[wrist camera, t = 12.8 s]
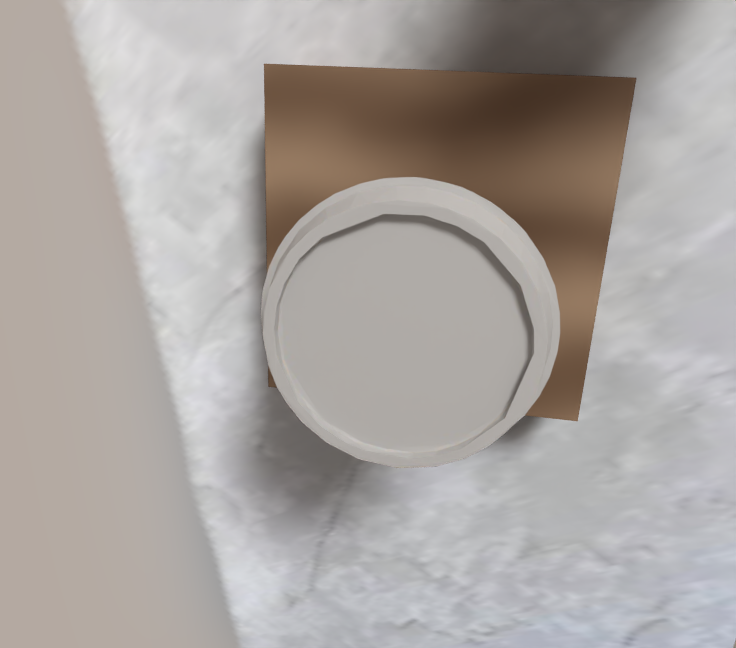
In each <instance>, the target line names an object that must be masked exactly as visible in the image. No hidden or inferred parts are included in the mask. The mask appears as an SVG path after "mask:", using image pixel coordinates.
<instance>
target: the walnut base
mask: <svg viewBox="0 0 736 648" xmlns="http://www.w3.org/2000/svg"><path fill="white" fill-rule="evenodd" d="M635 83H636V78H628V77H602V76H575V75H549V74H522V73H495V72H469V71H442V70H416V69H389V68H363V67H336V66H309V65H283V64H264V95H265V168H266V241H267V272H268V269H269V266H270V264H271V262H272V259H273V257H274V255H275V253H276V251H277V249H278V247H279V246H280V244H281V243H282V241H283V239H284V238H285V236H286V235H287V234H288V233H289V231H290V230H291V229H292V228H293V227H294V225H295V224H296V223H297V222H298V221H299V220H300V219H301V218H302V217H303V216H304V215H306V214H307V213H308V212H309V211H310V210H311V209H313V208H314V207H315V206H316V205H318V204H319V203H321V202H322V201H324V200H326V199H327V198H329V197H330V196H332V195H334V194H335V193H338V192H340V191H343V190H345V189H348V188H350V187H353V186H355V185H358V184H361V183H365V182H369V181H374V180H378V179H383V178H399V177H419V178H427V179H432V180H437V181H441V182H446V183H450V184H453V185H457V186H460V187H463V188H465V189H467V190H469V191H471V192H473V193H475V194H477V195H479V196H481V197H483V198H485V199H486V200H488V201H490V202H492V203H493V204H494V205H496V206H497V207H499V208H500V209H501V210H503V211H504V212H505V213H506V214H507V215H509V216H510V217H511V218H512V219H513V220H514V221H516V222H517V223H518V224H519V225H520V226H521V227H522V229H523V230H524V231H525V232H526V233H527V235H528V236H529V238H530V239H531V240H532V242H533V243H534V245H535V246H536V248H537V249H538V251H539V252H540V254H541V255H542V257H543V258H544V261H545V263H546V265H547V268H548V270H549V273H550V275H551V277H552V280H553V282H554V285H555V288H556V294H557V299H558V305H559V311H560V338H559V345H558V352H557V355H556V358H555V362H554V365H553V368H552V371H551V375H550V377H549V379H548V381H547V383H546V385H545V387H544V388H543V390H542V392H541V394H540V396H539V397H538V399H537V400H536V401H535V403H534V404H533V405H532V406H531V408H530V409H529V410H528V412H527V413H526V414H525V415H526V416H535V417H544V418H553V419H562V420H571V421H578V415H579V410H580V404H581V398H582V392H583V386H584V380H585V375H586V369H587V363H588V357H589V351H590V346H591V340H592V334H593V328H594V322H595V316H596V311H597V305H598V299H599V293H600V287H601V281H602V276H603V270H604V264H605V258H606V252H607V246H608V241H609V235H610V229H611V223H612V217H613V211H614V206H615V200H616V194H617V188H618V182H619V177H620V171H621V165H622V159H623V153H624V147H625V142H626V136H627V130H628V124H629V118H630V112H631V107H632V101H633V95H634V89H635ZM268 387H276V388H277V386H276V384H275V381H274V379H273V376H272V373H271V371H270V368H269V366H268Z"/></svg>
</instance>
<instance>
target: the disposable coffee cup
mask: <svg viewBox="0 0 736 648" xmlns="http://www.w3.org/2000/svg"><path fill="white" fill-rule="evenodd" d="M260 314H261V324H262V334H263V342H264V346H265V350H266V356H267V361H268V366H269V368H270V371H271V373H272V376H273V379H274V381H275V384H276V386H277V388H278V390H279V391H280V393H281V395H282V396H283V398H284V400H285V402H286V403H287V404H288V406H289V407H290V408H291V409H292V411H293V412H294V413H295V414H296V416H297V417H298V418H299V419H300V421H301V422H302V423H303V424H305V425H306V426H307V427H308V428H309V429H311V430H312V431H313V432H314V433H315V434H317V435H318V436H319V437H320V438H321V439H323V440H324V441H325V442H326V443H328V444H330V445H332V446H334V447H336V448H338V449H340V450H342V451H343V452H345V453H347V454H349V455H351V456H353V457H355V458H357V459H360V460H364V461H369V462H373V463H377V464H382V465H386V466H391V467H395V468H411V467H437V466H440V465H444V464H447V463H450V462H454V461H457V460H461V459H464V458H467V457H469V456H471V455H473V454H475V453H477V452H479V451H481V450H483V449H485V448H487V447H488V446H490V445H491V444H492V443H494V442H495V441H496V440H497V439H499V438H500V437H501V436H502V435H504V434H505V433H506V432H507V431H508V430H509V429H510V428H511V427H512V426H513V425H514V424H515V423H517V422H518V421H519V420H520V419H521V418H522V417H523V416H525V414H526V413H527V412H528V410H529V409H530V408H531V406H532V405H533V404H534V403H535V401H536V400H537V399H538V397H539V396H540V394H541V392H542V390H543V388H544V387H545V385H546V383H547V381H548V379H549V377H550V375H551V371H552V368H553V365H554V362H555V358H556V355H557V352H558V345H559V338H560V311H559V305H558V299H557V294H556V288H555V285H554V282H553V280H552V277H551V275H550V273H549V270H548V268H547V265H546V263H545V261H544V258H543V257H542V255H541V254H540V252H539V251H538V249H537V248H536V246H535V245H534V243H533V242H532V240H531V239H530V238H529V236H528V235H527V233H526V232H525V231H524V230H523V229H522V227H521V226H520V225H519V224H518V223H517V222H516V221H514V220H513V219H512V218H511V217H510V216H509V215H507V214H506V213H505V212H504V211H503V210H501V209H500V208H499V207H497V206H496V205H494V204H493V203H492V202H490V201H488V200H486V199H485V198H483V197H481V196H479V195H477V194H475V193H473V192H471V191H469V190H467V189H465V188H463V187H460V186H457V185H453V184H450V183H446V182H441V181H437V180H432V179H427V178H419V177H399V178H383V179H378V180H374V181H369V182H365V183H361V184H358V185H355V186H353V187H350V188H348V189H345V190H343V191H340V192H338V193H335V194H334V195H332V196H330V197H329V198H327V199H326V200H324V201H322V202H321V203H319V204H318V205H316V206H315V207H314V208H313V209H311V210H310V211H309V212H308V213H307V214H306V215H304V216H303V217H302V218H301V219H300V220H299V221H298V222H297V223H296V224H295V225H294V227H293V228H292V229H291V230H290V231H289V233H288V234H287V235H286V236H285V238H284V239H283V241H282V243H281V244H280V246H279V247H278V249H277V251H276V253H275V255H274V257H273V259H272V262H271V264H270V266H269V269H268V272H267V276H266V280H265V283H264V287H263V291H262V302H261V313H260Z"/></svg>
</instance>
